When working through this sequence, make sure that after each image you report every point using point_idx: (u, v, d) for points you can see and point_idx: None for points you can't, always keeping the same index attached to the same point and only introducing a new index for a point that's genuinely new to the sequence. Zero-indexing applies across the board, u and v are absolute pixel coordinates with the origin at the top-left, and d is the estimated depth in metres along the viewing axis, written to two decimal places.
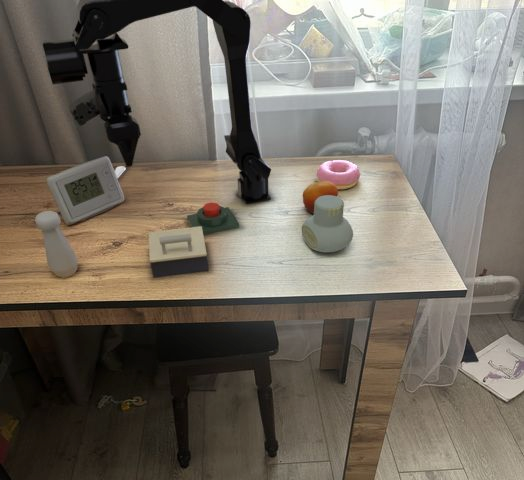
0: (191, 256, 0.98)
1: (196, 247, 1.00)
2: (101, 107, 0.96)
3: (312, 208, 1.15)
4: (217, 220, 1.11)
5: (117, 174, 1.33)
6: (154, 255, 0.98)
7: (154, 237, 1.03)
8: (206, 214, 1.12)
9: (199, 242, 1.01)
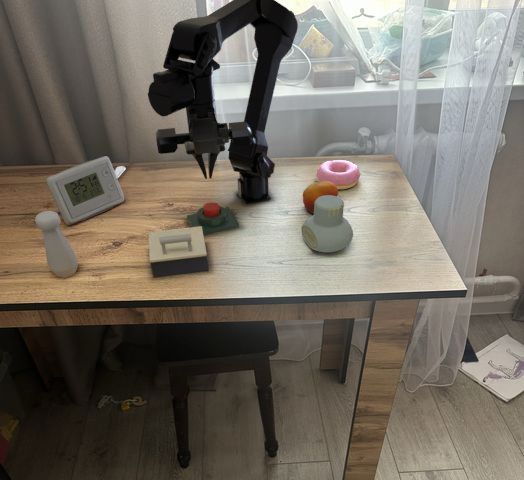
0: (191, 256, 0.98)
1: (196, 247, 1.00)
2: None
3: (312, 208, 1.15)
4: (217, 220, 1.11)
5: (117, 174, 1.33)
6: (154, 255, 0.98)
7: (154, 237, 1.03)
8: (206, 214, 1.12)
9: (199, 242, 1.01)
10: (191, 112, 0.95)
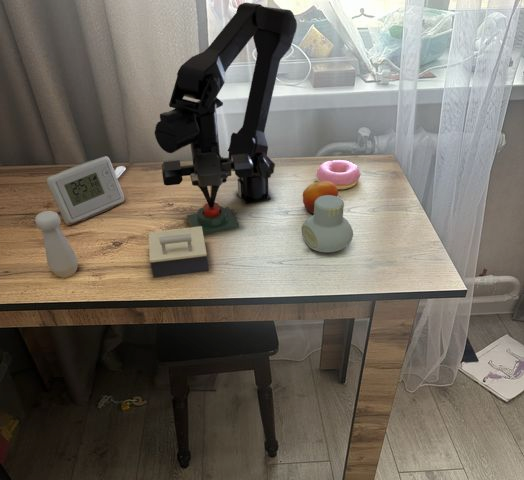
0: (191, 256, 0.98)
1: (196, 247, 1.00)
2: None
3: (312, 208, 1.15)
4: (217, 220, 1.11)
5: (117, 174, 1.33)
6: (154, 255, 0.98)
7: (154, 237, 1.03)
8: (206, 214, 1.12)
9: (199, 242, 1.01)
10: (195, 147, 0.99)
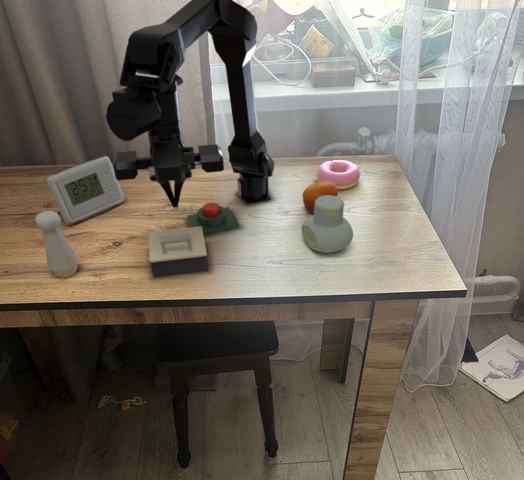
0: (191, 256, 0.98)
1: (196, 247, 1.00)
2: None
3: (312, 208, 1.15)
4: (217, 220, 1.11)
5: None
6: (154, 255, 0.98)
7: (154, 237, 1.03)
8: (206, 214, 1.12)
9: (199, 242, 1.01)
10: (152, 134, 0.82)
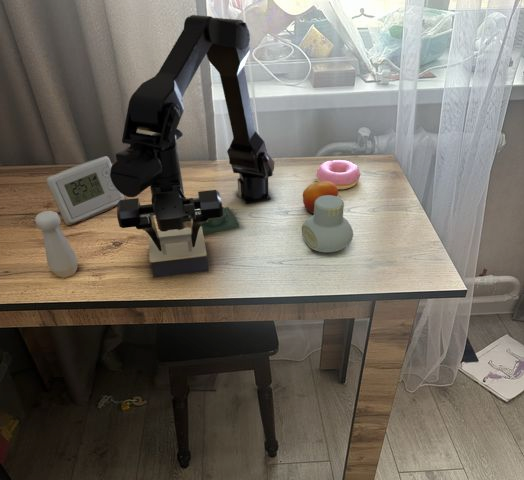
0: (191, 256, 0.98)
1: (196, 247, 1.00)
2: None
3: (312, 208, 1.15)
4: (217, 220, 1.11)
5: None
6: (154, 255, 0.98)
7: None
8: None
9: (199, 242, 1.01)
10: (154, 186, 0.86)
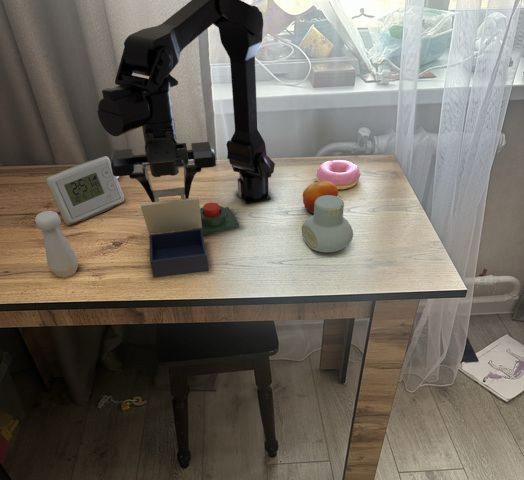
0: (183, 199, 0.95)
1: None
2: None
3: (312, 208, 1.15)
4: (217, 220, 1.11)
5: None
6: None
7: None
8: (206, 214, 1.12)
9: None
10: (147, 131, 0.87)
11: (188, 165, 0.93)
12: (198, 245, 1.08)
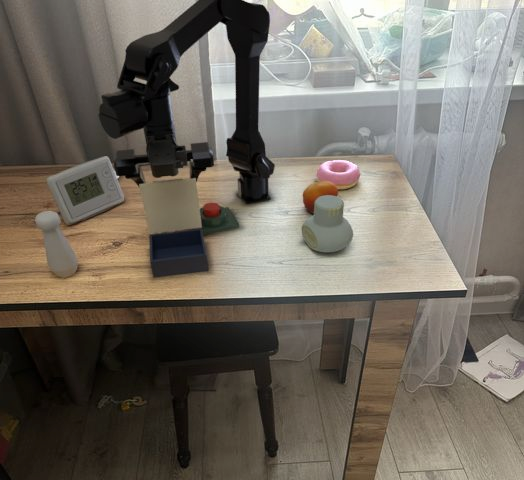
0: (180, 180, 0.98)
1: None
2: None
3: (312, 208, 1.15)
4: (217, 220, 1.11)
5: None
6: None
7: None
8: (206, 214, 1.12)
9: None
10: (148, 134, 0.91)
11: (193, 164, 0.98)
12: (198, 245, 1.08)
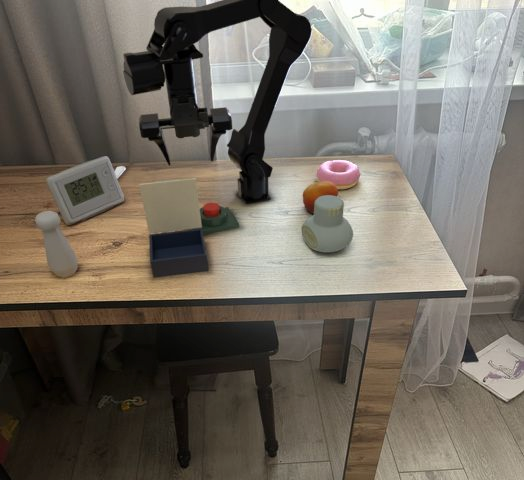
0: (180, 180, 0.98)
1: None
2: None
3: (312, 208, 1.15)
4: (217, 220, 1.11)
5: (117, 174, 1.33)
6: None
7: None
8: (206, 214, 1.12)
9: None
10: (172, 97, 0.98)
11: (214, 128, 1.05)
12: (198, 245, 1.08)
